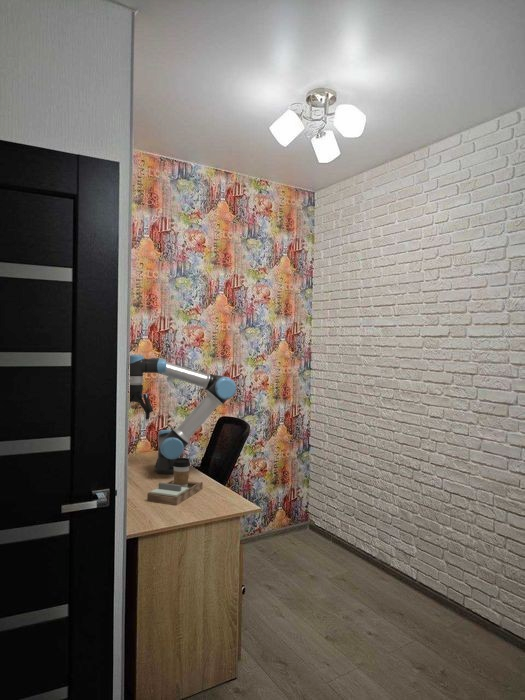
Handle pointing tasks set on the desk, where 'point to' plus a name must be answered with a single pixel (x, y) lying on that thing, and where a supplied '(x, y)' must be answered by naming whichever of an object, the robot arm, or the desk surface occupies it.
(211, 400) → the robot arm
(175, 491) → the lid
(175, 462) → the coffee cup
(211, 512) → the desk surface
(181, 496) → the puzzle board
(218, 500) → the desk surface
